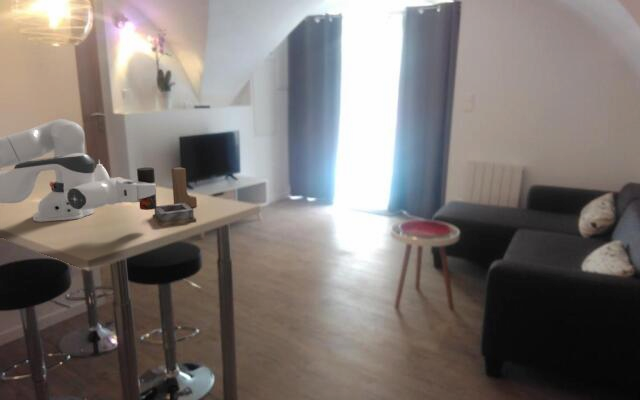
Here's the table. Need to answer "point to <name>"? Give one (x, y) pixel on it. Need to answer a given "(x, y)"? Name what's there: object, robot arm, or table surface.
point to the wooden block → (181, 188)
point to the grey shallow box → (173, 214)
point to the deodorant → (147, 177)
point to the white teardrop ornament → (100, 173)
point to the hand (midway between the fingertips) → (148, 183)
